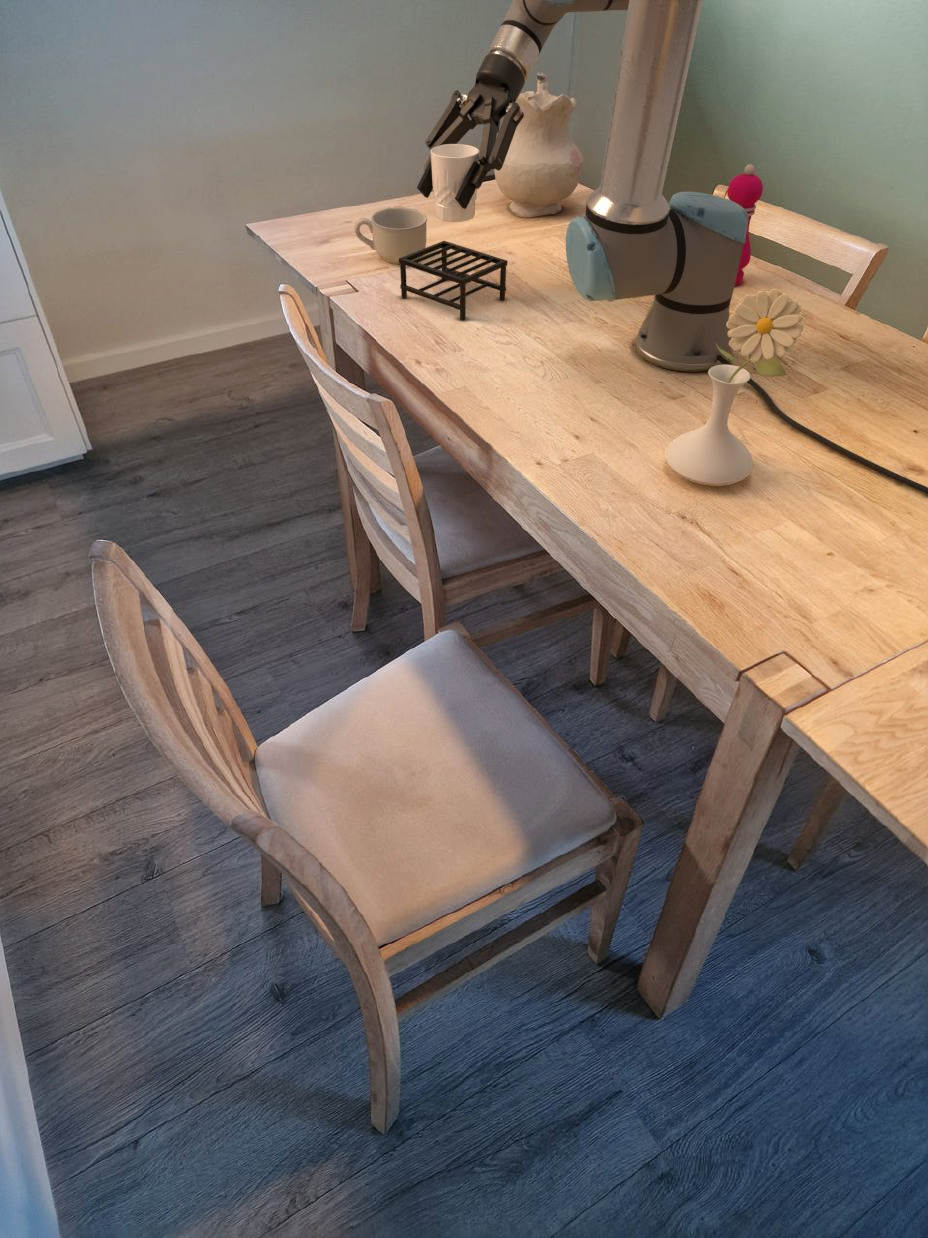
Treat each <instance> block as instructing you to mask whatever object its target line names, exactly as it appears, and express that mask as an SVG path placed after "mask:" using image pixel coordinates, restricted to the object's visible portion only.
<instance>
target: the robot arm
mask: <svg viewBox="0 0 928 1238" xmlns="http://www.w3.org/2000/svg"><path fill="white" fill-rule="evenodd" d="M703 2H704V0H512V2H511V4H510V6H509V9H508V10H507V13H506V14H505V17H504V18H503V21H502V23H501V24H500V26H499V29H498V31H497V32H496V34H495V36H494V38H493V40H492V42H491V44H490V46H489V48H488V50H487V54H486V55H485V56H484V58H483V60H482V62H481V63H480V66H479V68H478V70H477V72H476V74H475V82H474V86H473V87H472V88H471V89H470V90H469V91H468V93H461V92H460V91H459V90H458V89H456V90H454V91H453V93H452V95H451V98H450V101H449V104H448V105H447V107H446V108H445V110H444V111H443V113H442V115H441V116H440V117H439V119H438V121H437V122H436V124H435V125H434V127H433V129H432V130H431V132H430V133H429V135H428V136H427V138H426V140H425V142H424V143H425V145H426V146H427V148H428V149H429V151H431V149H432V148H434V147H436V146H440V145H446V144H459V142H460V141H461V139H463V138H464V136H465V135H467V133H469V131H470V130H474V129H475V128H476V127H477V125H478V126H479V125H483V128H482V136H481V142H480V148H479V158H478V157H477V159H478V161H479V164H478V162H476V161H474V162H473V164H472V166H471V167H470V169H469V171H468V173H467V175H466V177H465V179H464V181H463V183H462V185H461V187H460V189H459V191H458V193H457V195H456V197H455V199H456V201H457V202H458V203H459V205H460V206H461V207H462V208H464V209H466V208H467V206H468V204H469V202H470V200H471V198H472V196H473V194H474V192H475V190H476V188H477V190H479V189H480V188H481V187H482V184H483V183H484V181H485V178H486V177H487V175H488V173H489V172H491V171H492V170H494V169H496V170H501V169H502V166H503V164H504V161H505V158H506V155H507V153H508V150H509V147H510V144H511V142H512V139H513V136H514V133H515V131H516V128H517V126H518V124H519V123H520V122H521V120H522V119H523V117H524V113H523V111H522V110H521V108H520V106H519V105H518V103H515V102H516V100H517V98H518V96H519V94H521V92H522V90H523V88H524V86H525V84H526V80H528V79H529V76H530V74H531V72H532V70H533V68H534V67H535V64H536V62H537V60H538V58H539V56H540V54H541V53H542V49H543V48H544V46H545V44H546V43H547V40H548V38H549V36H550V35H551V33H552V31H553V29H554V27H556V25H557V24H558V23H559V22H560V21H561V20H562V19H563V17H564V16H565V15H566V14H568V13H584V12H586V13H588V12H606V11H627V12H626V18H625V25H624V30H623V32H624V33H623V36H622V37H623V38H622V43H621V49H620V50H621V51H620V55H619V56H620V58H619V63H618V70H617V76H616V83H615V87H614V88H615V89H614V96H613V101H612V106H611V114H610V121H609V127H608V133H607V139H606V146H605V153H604V159H603V164H602V172H601V177H600V185H599V186H598V187H597V188H595V190H593V191H592V192H591V193H590V194H589V195H588V196H587V198H586V205H585V212H584V216H583V215H577V216H576V217H574V218H572V219H571V220H570V222H569V224H568V225H567V228H566V232H565V233H566V234H565V255H566V256H565V257H566V263H567V267H568V271H569V275H570V278H571V282H572V284H573V286H574V288H575V290H576V292H577V294H579V296H580V297H581V298H583V299H584V301H585V300H586V301H588V302H593V303H594V302H606V301H607V302H609V303H611V302H614V301H617V300H625V299H633V298H642V297H650V296H654V299H653V302H652V304H651V305H650V308H649V310H648V311H647V314H646V315H645V317H644V320H643V322H642V323H641V325H640V328H639V329H638V332H637V335H636V340H635V345H634V346H635V351H636V353H637V354H638V356H640V357H641V359H644V360H645V361H646V362H648V363H650V364H652V365H654V366H657V367H660V368H663V369H667V370H671V371H675V372H676V371H678V372H684V373H685V372H689V373H696V372H706V371H707V372H708V371H709V369H710V368H711V367H713V366H716V365H734V364H733V363H731V362H730V361H729V360H730V359H728V358H727V357H726V356H724V355H723V354H722V353H721V352H720V351H719V350H718V348H717V346H718V347H719V348H720V349H722V350H724V351H725V352H727V353H729V354H731V353H732V351H733V349H732V347H730V346H729V341H730V340H731V339H732V338H730V337H728V331H729V330H730V329H729V328H727V326H726V324H727V322H728V321H729V316H730V315H731V314H730V306H731V302H732V298H733V293H734V290H735V286H734V285H735V280H736V276H737V272H738V267H739V263H740V259H741V254H742V250H743V245H744V244H745V242H746V233H747V226H748V214H747V212H746V211H745V209H744V208H743V207H742V206H740V205H739V204H737V203H735V202H733V201H731V200H729V198H725V197H723V196H719V195H715V194H710V193H705V192H699V191H679V192H676V193H674V194H673V195H671V198H670V200H669V201H668V200H667V199H666V198H665V196H664V195H663V191H664V186H665V182H666V177H667V172H668V167H669V162H670V158H671V153H672V149H673V145H674V139H675V135H676V129H677V125H678V120H679V115H680V110H681V107H682V101H683V96H684V92H685V86H686V81H687V77H688V73H689V69H690V64H691V58H692V54H693V50H694V44H695V40H696V35H697V30H698V25H699V21H700V16H701V11H702V7H703ZM502 119H503V120H502ZM501 120H502V121H501ZM416 189H417V190H418V191H419V192H420V193H421V195H422V196H423V197H424V198H426V199H429V198H430V195H431V193H432V192H433V184H432V166H431V153H430V154H429V156H428V158H427V160H426V162H425V164H424V167H423V174H422V175H421V178H420V180H419V182H418V184H417V186H416ZM715 343H716V344H717V346H716V344H715ZM731 355H732V354H731ZM746 383H747V384H748V385H749V386H751V387H752V388H753V389H754V390H755V391H756V392H757V393H758V394H759V395H760V396H761V397H762V398H763V399H764V401H765V402H766V403H767V405H768V407H769V408H770V409H771V410H772V412H773V413H774V414H776V416H777V417H778V418H780V419H781V420H782V421H783V422H785V423H787V424H788V425H790V426H791V427H793V428H794V429H796V430H798V431H799V432H801V433H803V434H805V435H806V436H809V437H810V438H812V439H814V440H815V441H817V442H819V443H820V444H823V445H824V446H826V447H828V448H830V449H832V450H833V451H835V452H837V453H839V454H841V455H842V456H844V457H847V458H849V459H851V460H852V461H854V462H856V463H858V464H861V465H862V466H864V467H866V468H869V469H871V470H872V471H874V472H877V473H879V474H881V475H884V476H886V477H887V478H890V479H892V480H894V481H895V482H896V481H897V482H898V483H901V484H904V485H905V486H908V487H910V488H912V489H914V490H917V491H919V492H921V493H924V494H926V495H928V486H926V485H924V484H922V483H919V482H917V481H915V480H912V479H910V478H907V477H905V476H903V475H900V474H898V473H896V472H894V471H892V470H890V469H888V468H886V467H883V466H881V465H879V464H877V463H876V462H873V461H871V460H868V459H866V458H864V457H862V456H861V455H859V454H857V453H854V452H853V451H850V450H848V449H847V448H845V447H843V446H841V445H839V444H837V443H835V442H834V441H832V440H831V439H829V438H826V437H824V436H823V435H821V434H819V433H817V432H815V431H813V430H812V429H810V428H808V427H807V426H805V425H803V424H801V423H799V422H797V421H796V420H794V419H793V418H791V417H790V416H789V415H787V414H786V413H785V412H783V411H782V410H781V409H780V408H779V407H778V406H777V405H776V404H775V402H774V401H773V400H772V398H771V397H770V395H769V394H768V392H767V391H766V390H764V388H763V387H761V385H759V384H758V382H756V381H755V380H754V379H753V378H752V377H750V380H749V381H748V382H746Z"/></svg>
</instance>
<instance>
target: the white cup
mask: <svg viewBox="0 0 928 1238" xmlns="http://www.w3.org/2000/svg"><path fill="white" fill-rule="evenodd" d="M430 154H431V166H432V184H433V189H432V196H433V200H434V201H433V203H434V205H433V206H434V216H435V217H436V218H437V219H438V220H440V221H443V222H448V223H461V222H466V221H467V222H469V221H470V220H472V219H474V217H475V214H476V200H477V193H478V189H477V188H476V190H475V192H474V194H473V196H472V198H471V200H470V202H469V204H468V206H467V208H466V209H464V208H462V207H461V206H460V205H459V203H458V202H457V201H456V199H455V197H456V195H457V193H458V191H459V189H460V187H461V185H462V183H463V181H464V179H465V177H466V175H467V173H468V171H469V169H470V167H471V166H472V164H473V162H474V161H476V162H478V164H479V163H480V162H479V161H478V159H477V157H478V158H479V155H480V149H478V148H477V147H476V146H472V145H469V144H461V143H457V144H446V145H440V146H436V147H434V148H432V149H431V150H430Z"/></svg>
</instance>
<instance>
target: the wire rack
mask: <svg viewBox="0 0 928 1238" xmlns="http://www.w3.org/2000/svg"><path fill="white" fill-rule="evenodd" d="M450 250H451V251H452V252H449V253H448V251H450ZM460 253H461V254H462V255H460V256H457V257H455V258H454V259H450V260H448V259H449V258H452V257H453V256H456V255H458V254H460ZM440 254H441V256H439V257H437V258H435V259H432V260H430V261H427V262H425V263H420V262H423V261H426V260H428V259H431V258H433V257H436V256H438V255H440ZM469 257H473V258H471V259H468V258H469ZM416 258H417V259H416ZM466 258H467V259H468V260H467V261H464V262H462V263H459V264H456V265H454V266H453V267H448V266H450V265H453V264H455V263H457V262H459V261H462V260H464V259H466ZM413 259H416V260H414V261H411V260H413ZM481 260H483V262H480V263H478V264H476V265H474V266H471V267H469V268H466V269H464V270H462V271H459V269H461V268H464V267H466V266H468V265H471V264H473V263H474V262H475V263H476V262H478V261H481ZM439 262H441V264H439V265H436V266H434V267H432V266H431V265H434V264H436V263H439ZM399 263H400V264H399V272H400V285H399V288H400V294H401V295H400V296H401V299H404V300H405V299H407V298H408V292H409V293H412V294H413V295H417V296H420V297H422V298H425V299H428V300H430V301H433V302H436V303H440V304H441V305H444V306H447V307H450V308H452V309H455V310H458V311H459V320H460V321H466V319H467V317H466V315H467V314H466V311H467V297H468V296H470V295H472V294H474V293H477V292H478V291H481V290H483V289H485V288H491V289H493V290H497V291H499V298H498V299H499V301H500V302H504V301H505V300H506V292H507V285H506V284H507V282H506V281H507V266H508V260H506V259H504V258H500V257H497V256H494V255H491V254H487V253H485V252H481V251H478V250H475V249H472V248H469V247H466V246H462V245H459V244H456V243H453V242H450V241H447V240H441V241H440V242H437V243H433V244H432V245H430V246H427V247H425V248H424V249H422V250H419V251H417V252H414V253H412V254H409V255H407V256H404V257H401V258H399ZM491 263H492V264H491ZM489 264H491V265H489ZM487 265H488V266H487ZM485 266H487V267H485ZM407 267H410V268H413V269H415V270H418V271H420V272H424V273H426V274H429V275H432V276H436V277H438V278H441V279H439V280H437V281H435V282H432V283H430V284H428V285H426V286H422V287H421V288H416V287H413V286H410V285H407ZM482 267H484V268H482ZM480 268H482V269H480ZM478 269H480V270H478ZM475 270H478V271H476V272H473V271H475ZM497 270H500V275H499V284H497V283H495V282H492V281H489V280H486V279H484V278H482V277H484V276H487V275H488V274H491V273H493V272H495V271H497ZM470 272H473V273H471V274H469V273H470ZM447 281H450V282H452V283H456V284H454V285H452V286H449V287H448V288H446V289H443V290H441V291H439V292H436V293H434V294H432V293H429V292H427V290H429V289H432V288H435V287H437V286H438V285H439V286H440V285H441V284H443V283H446V282H447ZM472 282H473V283H475V284H478V286H476V287H475V288H472V289H470V290H468V291H467V284H469V283H472ZM458 288H459V295H457V296H455V297H453V298H450V299H446V298H443V297H441V296H443V295H445V294H448V293H450V292H452V291H454V290H456V289H458ZM457 301H459V303H457Z"/></svg>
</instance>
